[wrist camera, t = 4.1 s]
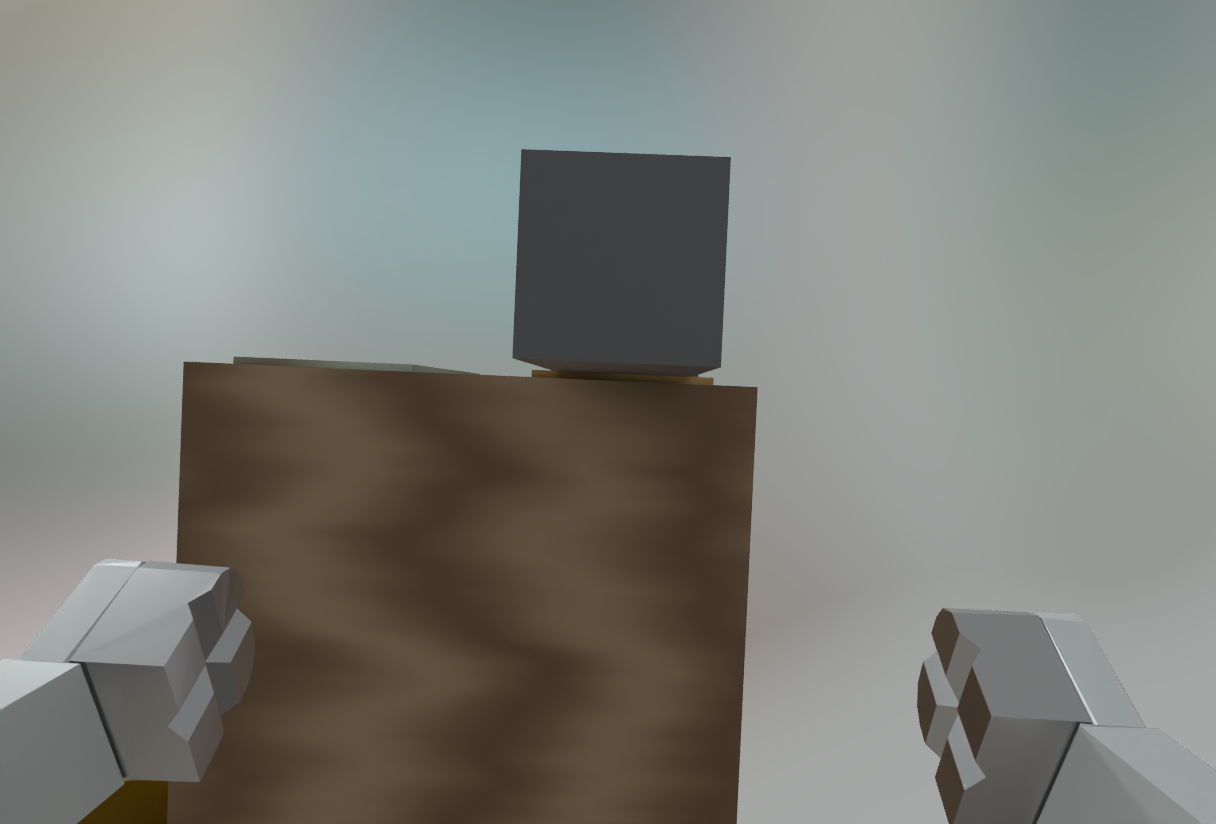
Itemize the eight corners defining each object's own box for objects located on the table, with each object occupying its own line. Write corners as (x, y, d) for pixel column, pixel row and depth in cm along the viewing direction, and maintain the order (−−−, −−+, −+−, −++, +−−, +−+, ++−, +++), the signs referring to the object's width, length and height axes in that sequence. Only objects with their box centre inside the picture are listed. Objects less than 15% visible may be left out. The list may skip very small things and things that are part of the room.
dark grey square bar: (483, 357, 16) (494, 90, 16) (563, 377, 34) (568, 251, 34) (749, 368, 16) (762, 99, 16) (688, 382, 34) (694, 256, 34)
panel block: (148, 1332, 25) (183, 354, 24) (306, 1028, 37) (332, 367, 36) (710, 1374, 24) (757, 379, 24) (684, 1052, 36) (716, 384, 36)
